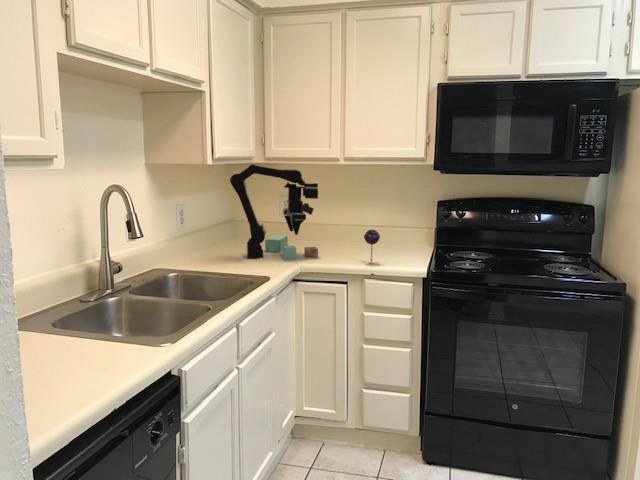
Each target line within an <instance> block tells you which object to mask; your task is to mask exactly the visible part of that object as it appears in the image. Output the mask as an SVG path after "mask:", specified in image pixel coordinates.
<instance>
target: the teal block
mask: <svg viewBox="0 0 640 480" xmlns="http://www.w3.org/2000/svg"><path fill="white" fill-rule="evenodd" d="M282 255H283V258H284V259H296V255H297V247H296V246H295V245H288V246H283V251H282ZM283 258H282V259H283ZM284 259H283V260H284Z"/></svg>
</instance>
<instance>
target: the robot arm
mask: <svg viewBox="0 0 640 480" xmlns="http://www.w3.org/2000/svg"><path fill="white" fill-rule="evenodd" d="M255 174H256V175H262V176H266V177H273V178H279V179H282V180H285V181H287V183H286V184H285V185H283V186H284V187H283V188H284V189H285V188H286V189H288V192H287V193H288V194H287V197H288V198H287V200H286V203H287V207H285V208H284V209H283V210H282V213H283V214H282V215H283V216H284V219H285V222H286V224H287V226H288V230H289V231H290V232H293V233H294V235H296V236H298V235H299V231H300V228H301V224H302V223H304V222H305V221H306V219H307V215H306V214H308V215H309V216H310V215H311V216H312V215H313V212H314V208H313V207H311V206H310V204H309V203H306V202H304V201H302V196H303V197H304V199H310V200H311V199H313V200H314V199H316V200H318V199H319V188H318V185H319V184H318V182H316V183H315V182H313V183H306V181H304V179H303V178H302V177H303V176H302V172H301V171H300V170H299V169H296V168H295V169H293V168H292V169H291V168H290V169H289V168H287V169H286V168H285V169H282V168H277V167H276V168H275V167H269V166H264V165H259V164H254V163H252V164H250V165H249V166H248V167H246V168H245V169H244V170H242V171H241V172H240V173H238V172H237V173H234V174H233V175H232V176H231V177H230V179H229V182H230V184H231V186H232V188H233V190H234V192H236V194H237V195H238V197H239V201H240V203H241V206H242V208H243V211H244V214H245V216H246V219H247V222H248V224H249V232H250V237H249V239H248V240H247V241H246V258H247V259H252V260H255V259H257V260H258V259H262V258H264V248H262V247H263V246H262V243H263V242H265V239H266V233H267V231H266V230H265V226H264V224H263V223H262V224H260V222H259V220H258V218H257V216H256V213H255V209H254V207H253V205H252V202H251V199H250V197H249V194H248V191H247V184H246V183H247V182H246V180H247V179H248V178H250V177H251V176H253V175H255ZM297 184H298V186H297Z"/></svg>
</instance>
